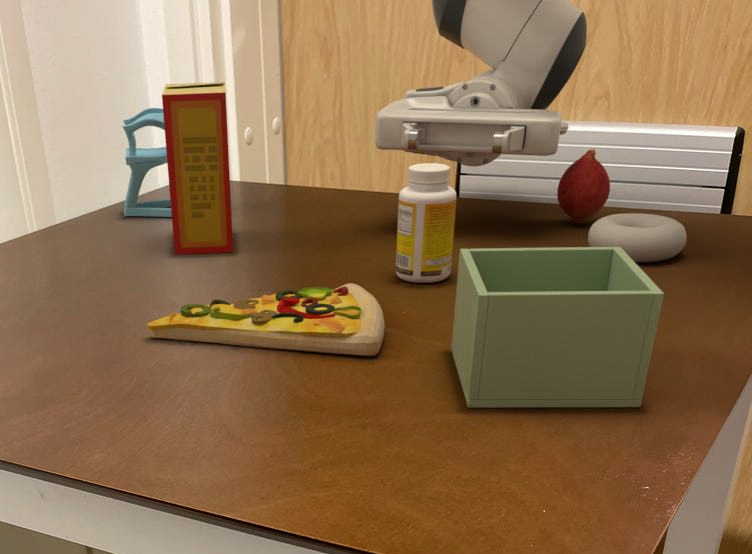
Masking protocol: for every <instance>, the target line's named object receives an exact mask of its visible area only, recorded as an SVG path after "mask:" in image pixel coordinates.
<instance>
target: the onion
mask: <svg viewBox="0 0 752 554" xmlns="http://www.w3.org/2000/svg"><path fill="white" fill-rule="evenodd" d="M596 154H597V153H596V149H595V148H590V149H588V150H587V151H586V152H585V153H584V154H582V155H581V156H580V157H579V158H578V159H577V160H575V161H573V163H572V164H570V165H569V166H568V168H567V169H565V171H564V173H563V174H562V176H561V177H560V180H559V182H558V186H557V193H556V194H557V197H556V198H557V202H558V204H559V208H560V209H561V210H562V211H563V213H564V214H566V215H567V216H568V217H569V218H570V220H572V221H573V222H574V223H576V224H578V225H579V224H581V225H582V224H584V223H585V222H586V221H587V220H589V219H590V218H591V217H593V216H594V215H595V214H596V213H598V212H599V211H600V210H601V209H602V208H603V207H604V206H605V204H606V202H607V201H608V199H609V196H610V192H611V181H610V176H609V174H608V172H607V170H606V168H605V167H604V166H603V164H602V163H601V162H600V161H599V160H598V159H597V158H596Z"/></svg>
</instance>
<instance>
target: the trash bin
mask: <svg viewBox="0 0 752 554" xmlns="http://www.w3.org/2000/svg"><path fill="white" fill-rule="evenodd" d="M458 255H459V256H458V265H457V266H458V267H457V279H456V291H455V302H454V315H453V324H452V325H453V326H452V337H451V353H452V356H453V360H454V364H455V367H456V371H457V375H458V378H459V382H460V385H461V388H462V391H463V395H464V400H465V402H466V406H467V408H468V409H470V408H472V409H475V408H476V409H477V408H478V409H479V408H480V409H481V408H483V409H485V408H486V409H487V408H488V409H489V408H493V409H494V408H499V409H500V408H505V409H506V408H508V409H509V408H512V409H513V408H515V409H516V408H519V409H521V408H641V406H642V402H643V401H642V400H643V397H644V392H645V388H646V382H647V378H648V374H649V373H648V372H649V369H650V363H651V358H652V353H653V348H654V343H655V339H656V336H657V335H656V334H657V329H658V325H659V321H660V320H659V319H660V316H661V310H662V306H663V302H664V301H663V300H664V296H665V293H664V292H663V291H662V289H660V287H659V286H658V285H657V284H656V283H655V282H654V281H653V280H652V279H651V278H650V277H649V276H648V274H646V272H645V271H643V269H642V268H641V267H640V266H639V265H638V264H637V262H634V261H633V260H632V259H631V258H630V257H629V256H628V255H627V253H626V252H625V251H624V250H623V249H622V248H621V247H589V246H575V247H571V246H570V247H495V248H491V247H490V248H489V247H488V248H487V247H485V248H484V247H483V248H460V249H459V254H458Z"/></svg>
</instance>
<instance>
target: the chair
mask: <svg viewBox="0 0 752 554" xmlns="http://www.w3.org/2000/svg"><path fill="white" fill-rule="evenodd" d="M122 122H123V123H124V125H122V128H123V131H124V133H125V135H126V138H127V143H128V148H126V149H125V165H126V166H129V168H130V177H129V182H128V187H127V192H126V196H125V199H124V205H123V207H124V209H123V212H124V213H123V216H124V217H159V218H161V217H162V218H163V217H164V218H172V213H171V201H170V198H163V199H154V200H146V201H138V198H139V195H140V191H141V187H142V185H143V181H144V179H145V177H146V175H147V173H148V172H149V171H150V170H152V169H155V168H156V167H159V166H162V165H165V164H167V152H166V146H162V147H154V148H153V147H152V148H151V147H150V148H143V147H141V148H139V147H137V140H136V135H135V133H136V131H138V130H140V129H143V128H144V127H155V128H159V129H161V130H163V131H165V127H164V115H163V108H160V107H150V108H149V107H148V108H146V109H144V110H142V111H140V112H139V113H137V114H136V115H134V116H132V117H130V118H127V119H123V120H122ZM134 132H135V133H134Z"/></svg>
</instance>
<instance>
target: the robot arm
mask: <svg viewBox="0 0 752 554" xmlns="http://www.w3.org/2000/svg"><path fill="white" fill-rule="evenodd" d="M431 5H432V12H433V17H434V22H435V25H436V29H437V32H438V35H439V36H441V37H442V38H444V39H445V40H448V42H449V41H450V42H451V43H453V44H455V45H456V46H457V47H459V48H461V49H464V50H467V51H468V52H469V53H470V54H472V55H473V56H475V57H476V58H477V59H479V60H480V61H482V62H483V63H484V64H486V65H487V66H488V67H490V68H491V69H489V70H485V71H483V72H480V73H479V74H477V75H475V76H473V77H472V78H470V79H469V80H467V81H466V80H462V81H458V82H456V83H453V84H450V85H445V86H436V87H425V88H417V89H409V90H407V91H406V92H405V94H404V98H401V99H398V100H394V101H393V102H391V103H389V104H387V105H386V106H384V107H383V108H382V109H380V110H378V112H377V113H376V117H375V125H374V144H375V147H376V148H377V149H378V150H382V151H388V150H389V151H390V150H391V151H403V152H405V153H412V154H417V155H427V156H431V157H432V156H433V157H434V156H435V157H439V158H441V159H444V160H447V161H450V162H456V163H457V164H460V165H462V166H465V167H482V166H485V165H488V164H490V163H492V162H493V161H495V160H496V159H498V158H499V157H500V156H501V155H512V156H513V155H514V156H538V157H540V156H541V157H548V156H554V155H555V154H557V152H558V149H559V143H560V137H561V136H562V135H565V134H567V132H568V130H569V129H570V128H569V127H570V126H569V123H567V122H562V121H563V117H562V115H561V113H560V112H558V111H557V110H550V109H548V108H549V107H550V105H552V103H553V101H555V100H556V98H557V97H558V96H559V94H560V93H561V91H562V90H563V89H564V88H565V86H566V85H567V83H569V82H568V81H569V80H570V78H571V77H572V75H573V73H574V72H575V70H576V68H577V66H578V64H579V63H580V60H581V59H582V56H583V54H584V52H585V48H586V46H587V36H588V33H587V32H588V29H587V27H588V26H587V19H586V18H587V17H586V15H585V12H584V11H582V9H580V8H579V7H578V6H576V5H575V4H574V3H572V2H571V1H570V0H431Z"/></svg>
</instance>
